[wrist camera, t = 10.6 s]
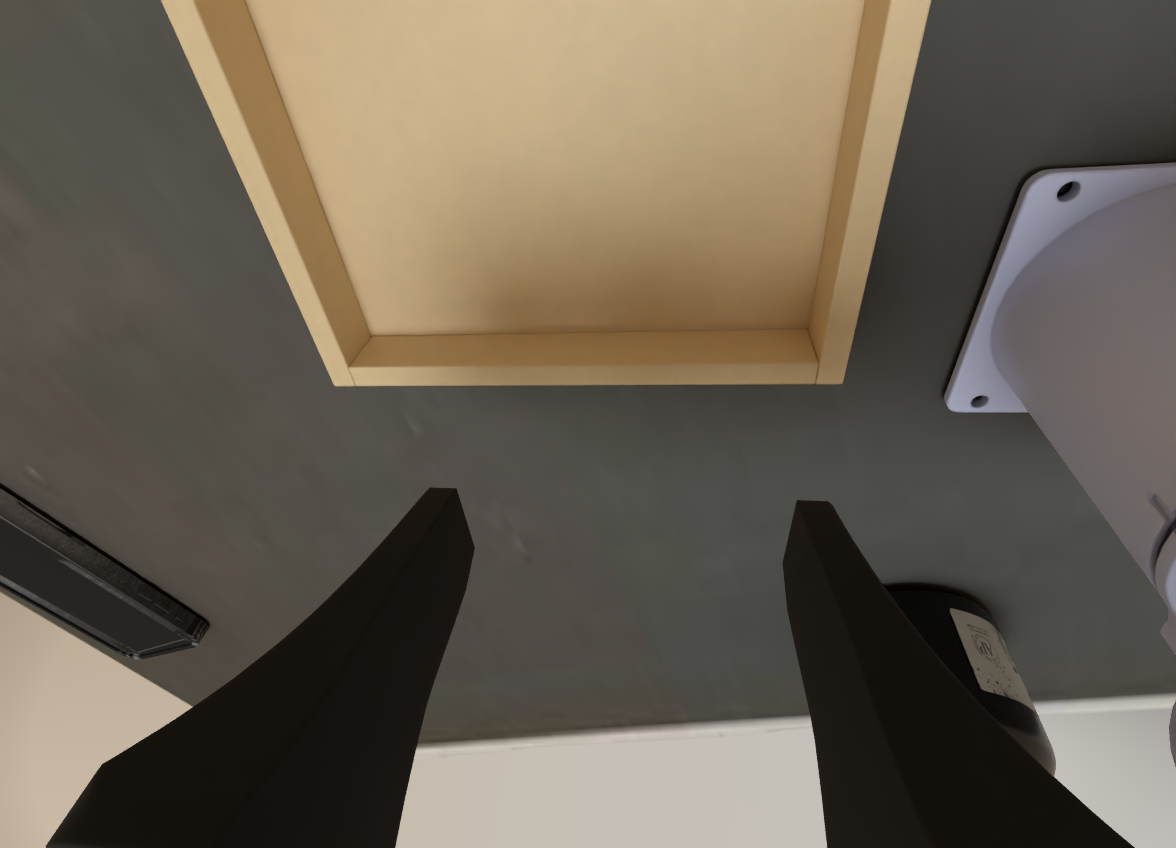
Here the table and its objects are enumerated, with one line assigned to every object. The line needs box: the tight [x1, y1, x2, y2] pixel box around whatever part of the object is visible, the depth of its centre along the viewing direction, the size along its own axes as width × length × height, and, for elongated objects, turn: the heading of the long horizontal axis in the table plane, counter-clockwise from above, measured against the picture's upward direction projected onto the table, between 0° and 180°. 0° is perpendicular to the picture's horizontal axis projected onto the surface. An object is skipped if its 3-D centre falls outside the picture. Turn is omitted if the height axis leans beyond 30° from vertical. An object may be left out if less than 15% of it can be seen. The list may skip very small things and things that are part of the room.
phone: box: [0, 489, 208, 659], centre depth 35 cm, size 8×1×15 cm
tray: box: [161, 0, 931, 386], centre depth 16 cm, size 17×14×3 cm
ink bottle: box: [888, 590, 1056, 777], centre depth 26 cm, size 10×9×12 cm
